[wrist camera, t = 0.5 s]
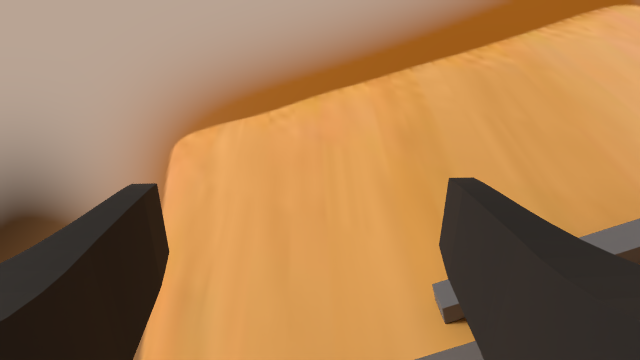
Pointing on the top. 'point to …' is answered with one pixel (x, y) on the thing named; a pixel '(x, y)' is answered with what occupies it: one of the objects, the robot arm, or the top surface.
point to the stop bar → (623, 240)
